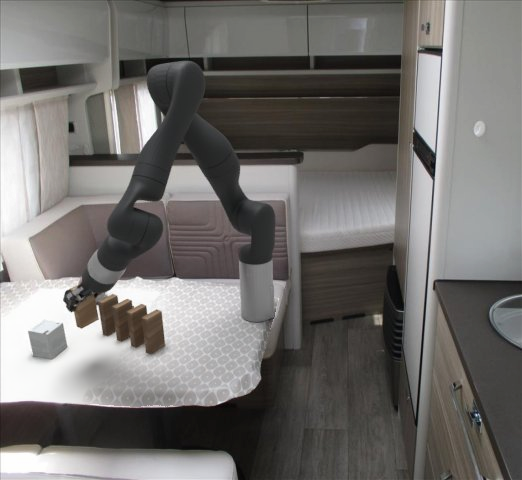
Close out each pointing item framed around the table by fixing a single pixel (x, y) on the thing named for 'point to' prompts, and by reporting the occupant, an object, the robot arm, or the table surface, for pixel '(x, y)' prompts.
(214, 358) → the table surface
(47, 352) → the skincare box
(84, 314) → the domino
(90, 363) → the table surface
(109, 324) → the domino
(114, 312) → the domino
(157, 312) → the domino
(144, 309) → the domino
